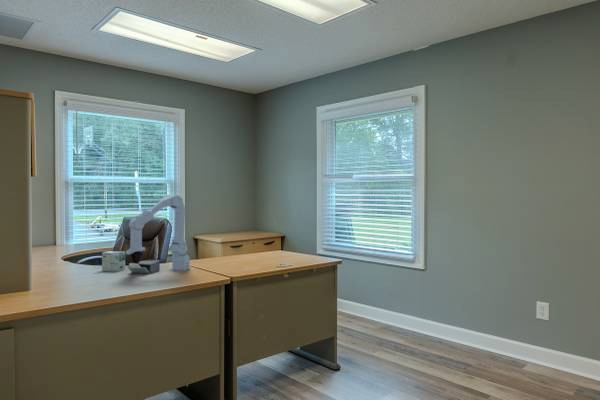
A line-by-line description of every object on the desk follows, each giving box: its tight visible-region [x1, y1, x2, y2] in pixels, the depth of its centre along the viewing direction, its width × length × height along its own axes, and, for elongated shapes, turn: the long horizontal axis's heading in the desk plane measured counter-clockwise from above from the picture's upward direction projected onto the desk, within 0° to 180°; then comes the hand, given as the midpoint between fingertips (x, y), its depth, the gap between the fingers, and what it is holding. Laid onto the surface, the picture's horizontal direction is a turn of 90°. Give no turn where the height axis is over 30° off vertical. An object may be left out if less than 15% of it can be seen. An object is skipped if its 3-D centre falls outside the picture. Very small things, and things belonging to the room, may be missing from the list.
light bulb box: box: [101, 250, 126, 272], centre depth 241 cm, size 11×7×11 cm, turn 84°
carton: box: [139, 260, 161, 274], centre depth 238 cm, size 11×9×6 cm
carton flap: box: [127, 262, 151, 274], centre depth 230 cm, size 11×1×9 cm
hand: (135, 265), depth 228 cm, fingers closed, pressing on carton flap
